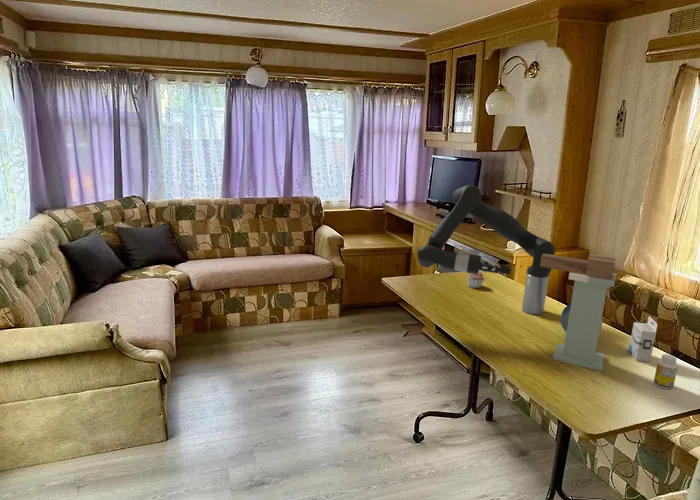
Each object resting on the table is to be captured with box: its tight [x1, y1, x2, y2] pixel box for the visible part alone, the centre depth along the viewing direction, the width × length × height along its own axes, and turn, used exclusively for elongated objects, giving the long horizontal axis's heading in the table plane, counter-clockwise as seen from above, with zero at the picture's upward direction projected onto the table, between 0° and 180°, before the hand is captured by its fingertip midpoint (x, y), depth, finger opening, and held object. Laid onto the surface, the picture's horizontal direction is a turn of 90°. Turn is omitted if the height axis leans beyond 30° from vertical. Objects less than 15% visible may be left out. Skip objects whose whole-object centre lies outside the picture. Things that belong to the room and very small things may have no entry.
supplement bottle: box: [653, 353, 679, 390], centre depth 160 cm, size 6×6×10 cm
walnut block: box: [540, 253, 617, 280], centre depth 171 cm, size 8×23×6 cm, turn 60°
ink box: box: [628, 316, 658, 363], centre depth 179 cm, size 9×5×15 cm, turn 168°
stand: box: [552, 272, 617, 372], centre depth 174 cm, size 12×16×32 cm
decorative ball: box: [560, 303, 603, 333], centre depth 194 cm, size 15×15×15 cm
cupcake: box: [465, 269, 486, 289], centre depth 252 cm, size 9×9×10 cm
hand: (510, 270), depth 190 cm, fingers open, 8 cm apart
